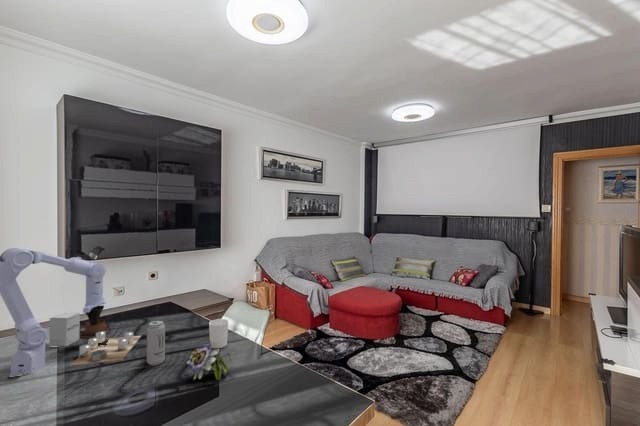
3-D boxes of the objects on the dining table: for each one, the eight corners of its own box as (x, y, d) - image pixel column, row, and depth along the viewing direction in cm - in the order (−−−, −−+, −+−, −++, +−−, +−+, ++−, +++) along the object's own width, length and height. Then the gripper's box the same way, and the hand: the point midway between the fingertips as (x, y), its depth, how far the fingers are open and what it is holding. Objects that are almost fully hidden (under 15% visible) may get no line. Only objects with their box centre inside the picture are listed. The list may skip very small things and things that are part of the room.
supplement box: (65, 348, 127) (66, 317, 127) (48, 348, 127) (48, 317, 127) (80, 340, 135) (80, 312, 135) (63, 340, 135) (64, 312, 135)
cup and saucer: (83, 343, 133) (83, 328, 133) (75, 336, 140) (75, 322, 140) (114, 334, 142) (115, 321, 142) (105, 328, 150) (105, 316, 150)
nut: (109, 355, 119) (109, 349, 119) (104, 360, 115) (104, 354, 115) (93, 356, 118) (93, 350, 118) (88, 362, 113) (88, 355, 114)
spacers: (123, 353, 120) (123, 343, 120) (77, 358, 116) (77, 348, 116) (137, 336, 137) (137, 327, 137) (97, 340, 133) (97, 331, 133)
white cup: (231, 341, 134) (231, 319, 134) (223, 349, 126) (223, 325, 126) (213, 341, 135) (214, 318, 135) (205, 348, 127) (205, 324, 127)
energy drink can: (157, 367, 111) (157, 326, 112) (142, 365, 113) (143, 325, 113) (168, 359, 117) (168, 320, 117) (154, 358, 119) (155, 319, 119)
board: (122, 361, 116) (122, 359, 116) (69, 367, 111) (69, 365, 111) (141, 337, 139) (141, 335, 139) (98, 341, 134) (98, 339, 134)
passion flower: (196, 397, 104) (176, 362, 106) (223, 374, 114) (204, 342, 116) (214, 386, 97) (193, 349, 99) (241, 363, 108) (221, 330, 110)
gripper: (97, 295, 121) (97, 330, 121) (112, 287, 135) (112, 318, 135) (77, 297, 119) (76, 331, 119) (93, 288, 133) (93, 319, 133)
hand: (94, 324), depth 127 cm, fingers closed
